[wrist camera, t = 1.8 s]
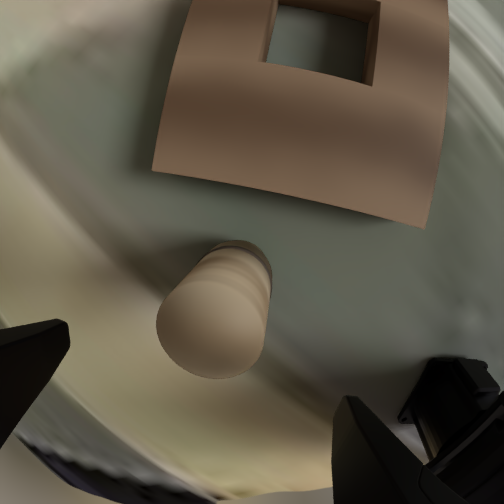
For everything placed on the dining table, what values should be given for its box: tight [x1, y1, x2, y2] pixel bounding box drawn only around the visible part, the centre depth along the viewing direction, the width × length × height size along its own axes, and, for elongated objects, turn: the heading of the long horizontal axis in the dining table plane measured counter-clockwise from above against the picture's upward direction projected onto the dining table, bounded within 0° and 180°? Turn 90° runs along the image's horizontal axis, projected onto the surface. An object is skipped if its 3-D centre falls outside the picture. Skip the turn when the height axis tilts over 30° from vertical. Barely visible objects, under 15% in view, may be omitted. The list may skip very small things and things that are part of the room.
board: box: [152, 0, 449, 229], centre depth 13 cm, size 18×14×3 cm
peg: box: [156, 240, 272, 379], centre depth 14 cm, size 4×4×8 cm
